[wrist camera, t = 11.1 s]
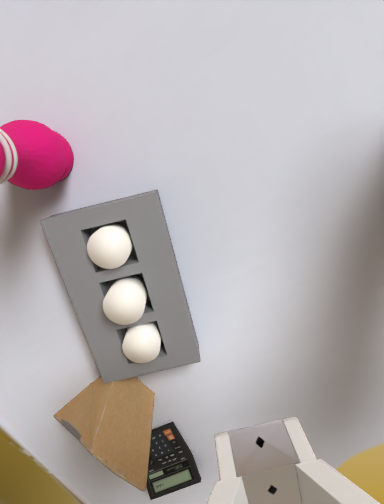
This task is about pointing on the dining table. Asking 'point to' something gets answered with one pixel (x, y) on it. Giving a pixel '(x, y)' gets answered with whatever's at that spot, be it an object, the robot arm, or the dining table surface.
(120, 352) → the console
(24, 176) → the pepper mill
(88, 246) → the ball
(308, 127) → the dining table surface
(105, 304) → the button middle
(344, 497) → the robot arm
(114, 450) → the sandwich container
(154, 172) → the dining table surface
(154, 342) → the button container side
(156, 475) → the calculator
